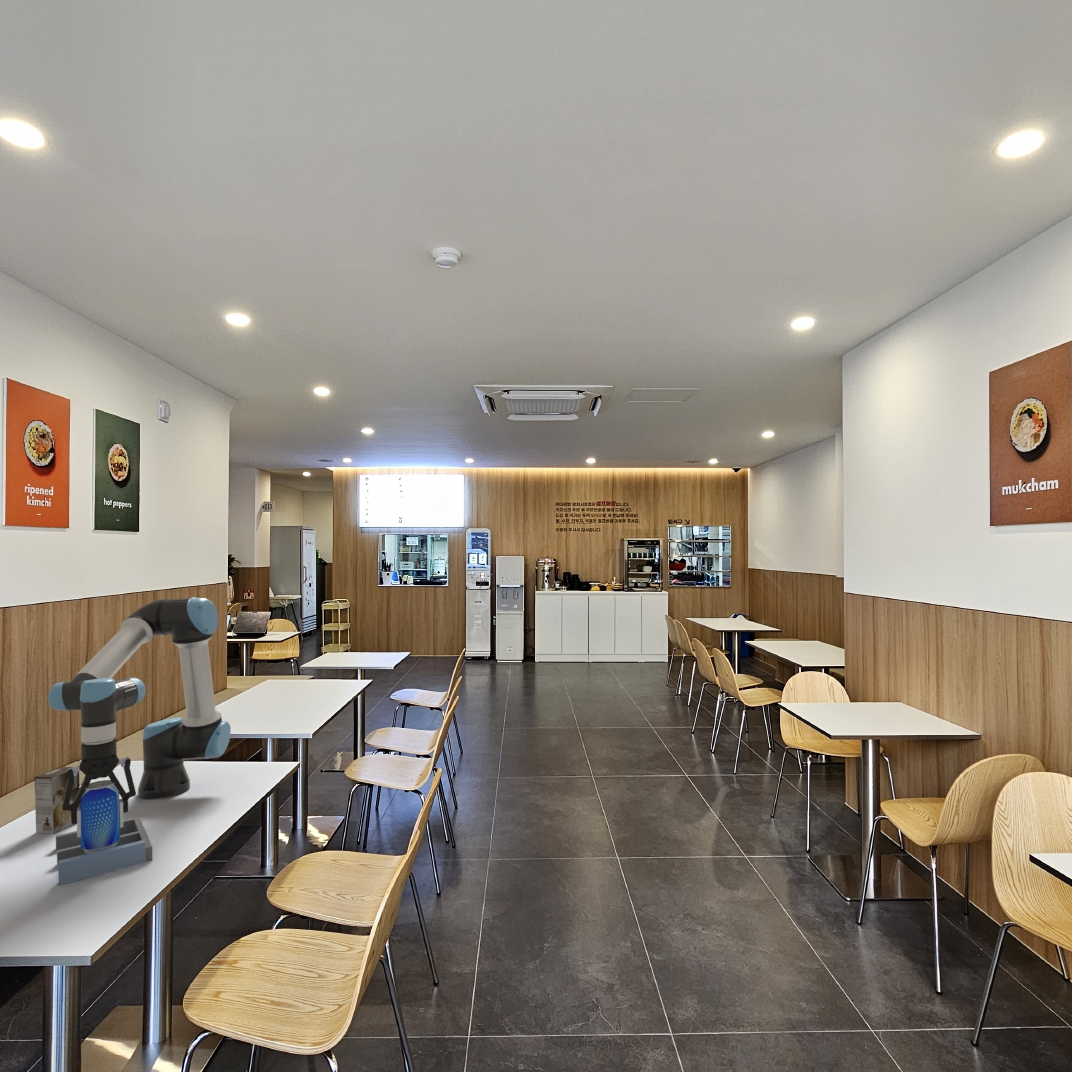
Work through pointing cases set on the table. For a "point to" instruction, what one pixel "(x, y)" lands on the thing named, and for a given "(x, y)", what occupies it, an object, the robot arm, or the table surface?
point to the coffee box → (53, 800)
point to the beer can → (100, 817)
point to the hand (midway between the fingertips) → (100, 830)
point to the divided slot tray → (102, 853)
